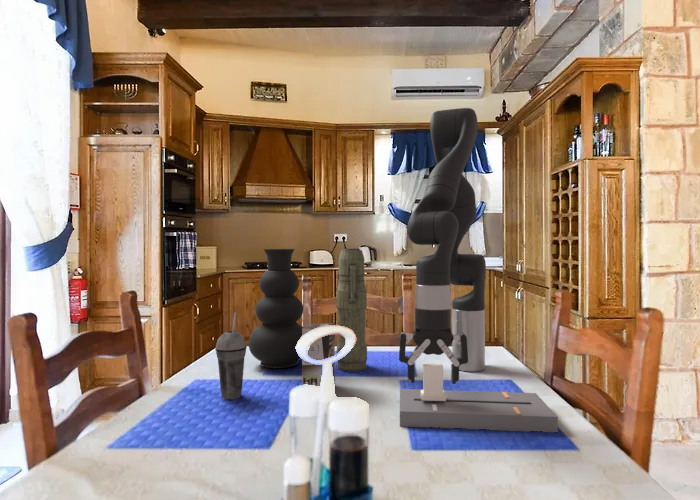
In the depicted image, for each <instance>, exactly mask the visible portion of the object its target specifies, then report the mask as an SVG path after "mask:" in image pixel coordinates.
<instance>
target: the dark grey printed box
mask: <svg viewBox="0 0 700 500" xmlns="http://www.w3.org/2000/svg"><path fill="white" fill-rule="evenodd" d="M327 325H335V323H334V322H311V323H310V324H308V325H306V326H304V328H302V335H303V334H305V333H307V332H308V331H310V330H312V329H314V328H317V327H321V326H327ZM335 326H336V325H335ZM335 338H336V336H335V334H334V335H328V336H325V337H322V338H320V339H318V340H317V341H315V342H314V343H313V344H312V345H311V346H310V348H309V350H308V355H309V356H310V357H311V358H313V359H316V360H322V359H325V358H328V357H331V356H334V355H335V356H336V354H335V353H336V348H335V347H336V346H335V345H336V343H335ZM335 362H336V361H335ZM335 362H334V363H333V364H332V367H333V376H334V381H335V382H336V371H335V370H336V367H335V365H336V363H335ZM321 375H322V365H315V364H311V363H309V362H306V361H304V360H303V359H302V358H301V386H302V385H303V384H308V385H315V386H320V382H321Z"/></svg>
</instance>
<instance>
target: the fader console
mask: <svg viewBox="0 0 700 500" xmlns="http://www.w3.org/2000/svg"><path fill="white" fill-rule="evenodd" d="M421 390H422V389H412V388H409V389H408V388H399V427H407V428H409V427H410V428H412V427H413V428H429V427H432V429H436V428H437V429H454V428H463V429H462V430H479V429H487V431H505V430H506V431H507V432H510V431H511V432H530V431H538V432H537V433H540V432H539V431H543V432H542V433H555V432H559V428H558V427H559V425H558V423H559V419H558V418H559V417H558V415H557V414H556V413H555V412H554V411H553V410H552V409H551V408H550V407H549V406H548V405H547V403H546V402H545V401H544V400H543V399H542V398H541V397H540V396H539V395H538V394H537V393H536V392H517V391H516V392H515V391H514V392H513V391H511V392H510V391H481V390H479V391H478V390H477V391H475V390H451V389H449V390H445V389H443V390H444V392H445V395H446V401H424V400H421ZM433 427H434V428H433ZM438 427H440V428H438ZM464 428H465V429H464ZM488 429H489V430H488Z"/></svg>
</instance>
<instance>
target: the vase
mask: <svg viewBox="0 0 700 500" xmlns="http://www.w3.org/2000/svg"><path fill="white" fill-rule="evenodd" d="M263 250H264V253H265V255H266V260H267V262H266V263H267V270H265V271H264V273H263V274H262V275H261V277H260V279H259V288H260V291H261V292H262V293H263V294H264V295H263V296H262V297H261V298H260V300H259V301H258V302H257V304H256V305H255V311H254V312H255V315H256V317H257V320H258V321H260V322H261V324H260V325H258V326H257V327H256V328H255V329H254V330H252V332H251V334H249V335H250V336H249V338H248V349H249V351H250V353H251V355H252V356H253V357H254V358H255V359H256V360H257V361H260V365H261V366H262V367H265V368H269V369H286V368H291V367H294V366H296V365H298V364H299V362H300V359H301V360H302V358H300V357H299V356H298V354H297V352H296V349H295V346H296V344H297V341H298V340H299V339H300V337H301V336H302V328H304V327H305V326H304V327H303V326H302V325H301V324H299V323H298V321H299V320H300V319H301V318H302V317H303V315H304V314H303V313H304V304H303V302H302V301H301V300H300V299H299V298H298V297H297V296H296V295H295V293H297V291H298V289H299V286H300V279H299V277H298V275H297V274H296V273H295V271H294V270H292V256H293V253H294V251H295V248H264V249H263Z"/></svg>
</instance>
